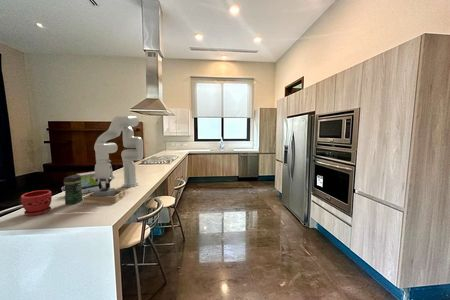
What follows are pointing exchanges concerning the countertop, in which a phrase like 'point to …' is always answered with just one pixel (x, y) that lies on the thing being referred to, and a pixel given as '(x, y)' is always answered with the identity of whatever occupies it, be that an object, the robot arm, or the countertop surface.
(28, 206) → the plant pot
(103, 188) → the salt shaker
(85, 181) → the tea box
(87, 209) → the countertop surface
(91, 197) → the oak crate
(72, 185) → the coffee jar
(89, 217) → the countertop surface
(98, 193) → the inlet socket
